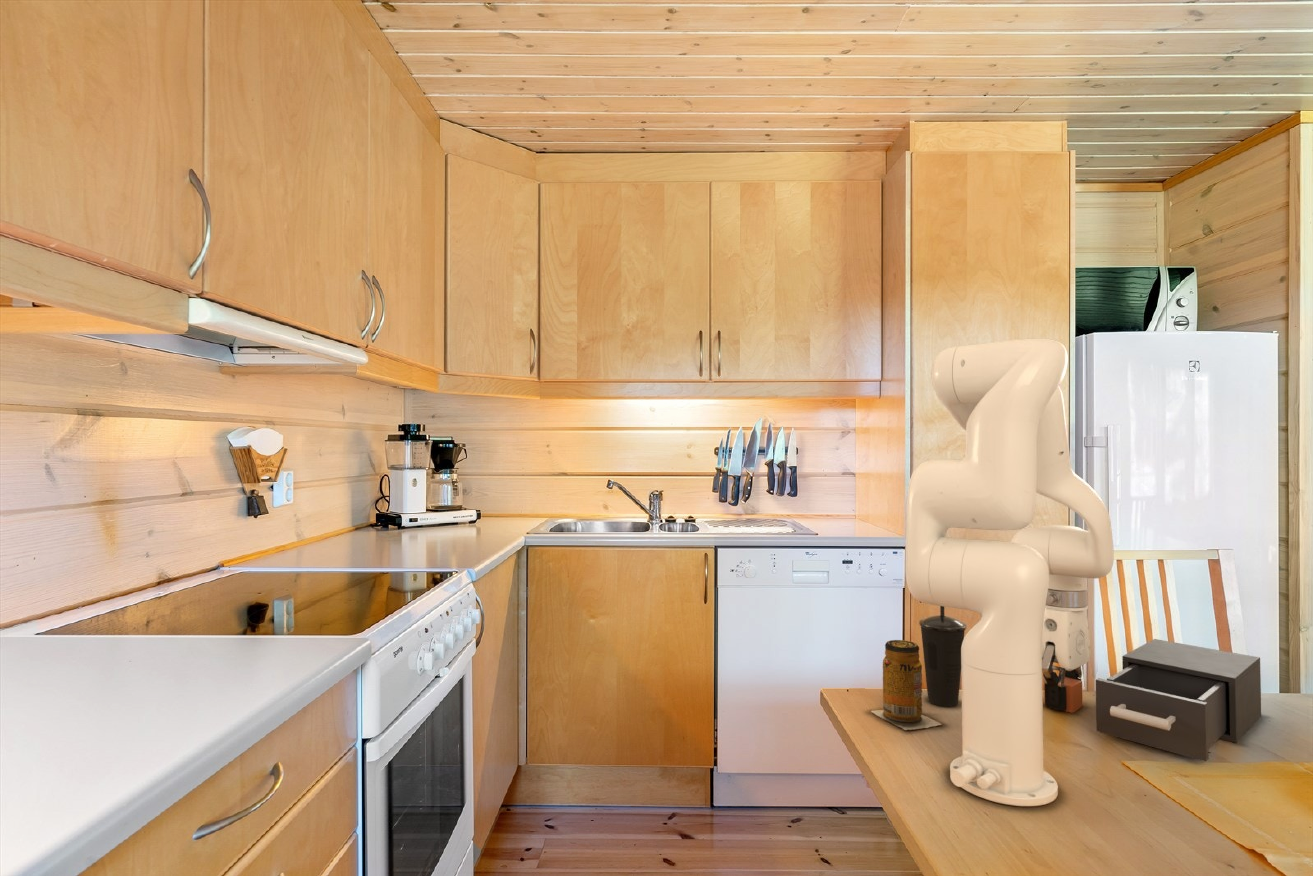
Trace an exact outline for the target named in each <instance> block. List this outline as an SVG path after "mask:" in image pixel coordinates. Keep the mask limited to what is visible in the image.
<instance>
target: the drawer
mask: <svg viewBox="0 0 1313 876" xmlns="http://www.w3.org/2000/svg"><path fill="white" fill-rule="evenodd" d="M1095 727H1096V732H1098V733H1102V734H1106V735H1109V736H1112V737H1116V738H1120V739H1123V740H1127V741H1129V742H1134V743H1138V744H1141V745H1145V746H1148V747H1153V748H1155V749H1159V750H1162V751H1165V752H1166V751H1167V752H1170V753H1173V754H1178V755H1182V756H1185V757H1187V758H1192V759H1195V760H1198V761H1201V762H1207V761H1209V756H1210V755H1209V749H1210V748H1211V747H1212V746H1213V745H1215V743H1216V742H1217V741H1218V740H1220V739H1219V738H1220V737H1221V736H1222V735H1223V734H1224V733H1225V732H1226V731H1227V730H1228V688H1227V682H1225V681H1220V680H1215V679H1210V678H1205V677H1200V676H1195V675H1190V674H1185V673H1180V672H1175V671H1171V670H1166V669H1161V668H1156V667H1151V666H1146V665H1141V664H1136V663H1134V664H1132V665H1130V666H1129V667H1127V668H1125V669H1123V668H1122V669H1121V670H1119V671H1118V672H1116V673H1114V674H1113V675H1111V676H1110V677H1108V678H1106V679H1103V678H1097V679H1095Z"/></svg>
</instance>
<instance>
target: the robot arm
mask: <svg viewBox="0 0 1313 876" xmlns="http://www.w3.org/2000/svg"><path fill="white" fill-rule="evenodd" d="M1067 368H1068V351H1067V349H1066V347H1065V345H1064V344H1063V343H1061V342H1060V341H1059V340H1056V339H1053V338H1046V337H1045V338H1044V337H1034V338H1017V339H1008V340H998V341H993V342H992V341H991V342H984V343H983V342H982V343H974V344H973V343H972V344H964V345H954V346H950V347H946V348H944V349H942V350H941V351H939V352H938V353H937V354H936V356H935V357H934V359H933V361H932V364H931V368H930V377H931V378H930V379H931V383H932V386H933V387H932V388H933V390H934V392H935V394H936V396H937V398H938V399H939V401H940V402H941V404H942V405H943V407H945V408H946V410H947V411H948V413H949V414H950V415H951V416H952V418H953V419H954V420H955V422H956V423H957V424H958V425H959V426H960V427H961V429H962V430H964V431H965V454H964V457H963V458H935V459H933V458H932V459H927V460H925V461H923V462H921V463H920V464H918V465H917V466H916V467H915V468H914V469H913V471H912V474H911V476H910V478H909V480H908V481H909V482H908V485H907V491H906V512H905V513H906V514H905V515H906V517H905V518H906V519H905V521H906V522H905V579H906V585H907V589H908V591H909V593H910V595H911V596H912V597H913V599H915V600H916V601H918V602H920V603H923V604H927V605H931V606H937V607H940V606H944V608H951V609H959V610H964V611H965V610H967V611H970V612H975V613H979V614H980V615H981V618H980V619H979V621H978V622H977V623H976V624H974V626H972V627H971V628H970V630H969V631H967V633H966V634H965V635H964V640H963V642H962V647H961V740H962V741H961V747H962V748H961V749H962V750H961V751H962V752H961V755H960V756H958V757H956V758H954V759H953V760H952V761H951V762H950V764H949V771H950V772H949V777H950V778H949V779H950V781H951V783H953V785H954V786H955V787H958V788H961V789H963V790H964V791H966V792H968V793H970V794H972V795H973V796H975V797H978V798H981V799H983V800H987V801H990V802H994V803H997V804H1003V805H1007V806H1015V807H1039V806H1044V805H1047V804H1050V803H1052V802H1053V801H1055V800H1056V799H1057V797H1058V795H1059V784H1058V782H1057V780H1056V779H1055V778H1054V777H1053V776H1052V775H1051V774H1050V773H1049V772H1047V771H1046V770H1044V769H1045V768H1044V714H1043V713H1044V711H1043V710H1044V708H1043V707H1044V706H1045V707H1046V708H1049V709H1054V710H1058V711H1061V712H1067V711H1066V710H1067V693H1066V687H1065V686H1064V680H1065V677H1067V678H1071V679H1075V680H1080V681H1082V676H1083V671H1082V666H1084V665H1086V664H1087V663H1089V662H1090V660H1091V641H1090V629H1089V620H1088V619H1089V618H1088V613H1087V610H1089V602H1088V601H1089V599H1088V597H1089V596H1088V592H1089V591H1088V590H1089V589H1088V579H1093V580H1094V579H1101V578H1104V577H1106V576H1107V575H1109V574H1110V572H1111V571H1112V568H1113V566H1114V559H1115V549H1114V541H1113V540H1114V539H1113V531H1112V522H1111V516H1110V513H1109V510H1108V508H1107V506H1106V504H1105V503H1104V501H1103V499H1102V498H1101V496H1100V495H1099V494H1098V493H1097V492H1096V491H1095V489H1093V487H1092V486H1090V484H1089V483H1087V482H1086V481H1085V480H1084V479H1083V478H1082V477H1080V476H1079V475H1077V474H1076V472H1075V471H1074V470H1073V469H1072V463H1071V454H1070V444H1069V436H1068V428H1067V427H1068V426H1067V419H1066V410H1065V403H1064V402H1065V401H1064V395H1063V392H1062V389H1061V387H1060V385H1061V384H1062V382H1063V379H1064V377H1065V375H1066V371H1067ZM1037 494H1038V495H1040V496H1043V497H1045V498H1048V499H1050V500H1053V501H1055V502H1057V503H1058V504H1059V503H1060V504H1062V505H1063V506H1065V507H1067V508H1068V509H1070V510H1072V511H1073V512H1075V514H1077V516H1079V517H1080V518H1081V519H1082V520H1083V521H1084V523H1085V524H1086V526H1087V529H1088V530H1087V529H1083V528H1081V527H1079V526H1073V525H1068V524H1067V525H1066V524H1045V525H1041V526H1039V527H1036V526H1033V527H1032V526H1031V527H1030V526H1029V525H1030V524H1031V523H1032V522H1033V520H1034V517H1035V513H1036V507H1037V506H1036V505H1037ZM1028 526H1029V527H1028ZM950 528H952V529H953V528H954V529H970V530H985V531H1006V532H1007V531H1016V533H1015V534H1014V536H1013V537H1012V538H1011V540H1010V541H1006V540H1005V541H1004V540H994V539H978V538H960V537H948V536H947V532H948V530H949V529H950ZM1017 530H1018V531H1017ZM1054 663H1055V664H1059V666H1057V665H1054ZM1055 671H1057V672H1058V673H1057V672H1055ZM1057 675H1058V676H1059V677H1058V676H1057ZM1044 683H1045V704H1044V706H1043V703H1044V702H1043V699H1044V698H1043V684H1044Z"/></svg>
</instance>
